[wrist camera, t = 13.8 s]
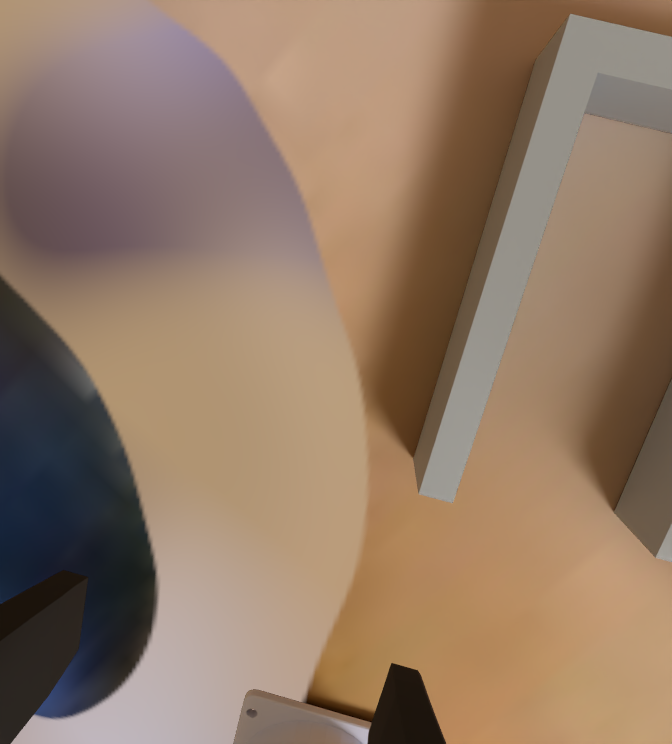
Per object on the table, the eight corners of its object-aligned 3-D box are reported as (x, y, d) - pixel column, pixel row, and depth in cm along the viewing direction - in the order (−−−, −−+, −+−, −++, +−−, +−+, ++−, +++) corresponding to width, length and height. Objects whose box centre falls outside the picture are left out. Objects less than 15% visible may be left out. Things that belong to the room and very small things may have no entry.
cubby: (643, 520, 19) (691, 567, 16) (413, 459, 19) (418, 494, 16) (821, 125, 15) (923, 94, 13) (535, 59, 16) (570, 13, 13)
